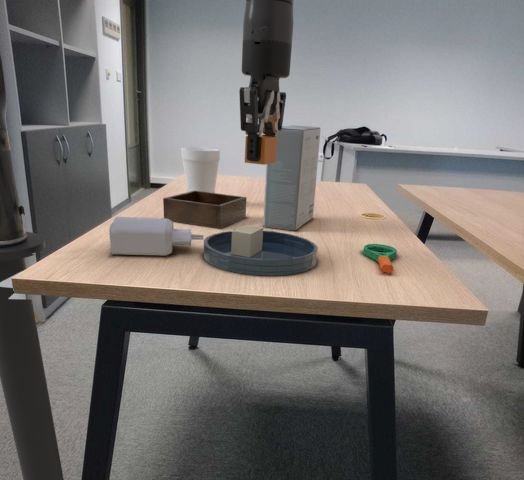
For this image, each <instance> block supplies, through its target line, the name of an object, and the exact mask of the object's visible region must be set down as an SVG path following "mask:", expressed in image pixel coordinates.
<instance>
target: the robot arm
mask: <svg viewBox="0 0 524 480" xmlns="http://www.w3.org/2000/svg"><path fill="white" fill-rule="evenodd" d="M294 1H295V0H245V8H244V14H243V25H242V51H241V73H242V74H243V75H244V76H248V77H250V78H249V84H248V86H247V87H246V86H245V87H241V86H240V87H239V91H238V92H239V93H238V94H239V118H240V130H241V131H242V132H244V133H245V135H246V136H248V138H247V160H248V161H255V162H257V161H260V158H261V141H262V137H259V136H271V137H276V136H275V135H277V134H278V131H281V129H282V126H283V124H284V123H283V122H284V116H285V115H284V114H285V107H286V101H287V93H286V92H283V91H280V82H279V81H280V79H287V78H289V77H290V73H291V63H292V62H291V61H292V50H293V49H292V48H293V36H294ZM4 71H5V70H4V64H3V57H2V52H1V50H0V248H4V247H10V246H15V245H19V244H22V243H24V242H26V241H27V235H26V232H27V231H26V228H25V222H24V217H23V216H26V213H25V207H24V206H23V205H22V204H21V199H20V192H19V187H18V181H17V175H16V170H15V169H16V168H15V164H14V158H13V153H12V148H11V142H10V136H9V130H8V123H7V111H8V94H7V87H6V79H5V72H4Z"/></svg>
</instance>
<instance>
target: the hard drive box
mask: <svg viewBox="0 0 524 480" xmlns="http://www.w3.org/2000/svg"><path fill="white" fill-rule="evenodd" d="M275 136H276V137H278V141H277V155H276V162H275V163H270V164H265V165H266V166H265V180H264V181H265V182H264V183H265V184H264V199H263V200H264V201H263V202H264V203H263V205H264V206H263V222H262V225H263V228H270V229H271V228H272V229H279V230H285V231H286V230H287V231H295V232H296V231H297V230H298V229H300V228H301V227H302V226H303V225H305V224H306V223H308V222H309V221H310V220H311V219H313V217H314V211H315V210H314V208H315V198H316V189H317V188H316V185H317V176H318V175H317V174H318V163H319V150H320V141H321V127H320V126H309V125H296V124H295V125H294V124H292V125H291V124H286V125H285V124H284V125H282V129H281V131H278V134H277V135H275Z"/></svg>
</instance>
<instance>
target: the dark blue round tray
mask: <svg viewBox="0 0 524 480" xmlns="http://www.w3.org/2000/svg"><path fill="white" fill-rule="evenodd" d="M232 231H233V230H227V231H221V232H217V233H213V234H210V235H209V236H207V237H206V238H205V239H203V258H204V260H205V261H206V262H207V263H208V264H210V265H211V266H213V267H215V268H218V269H221V270H223V271H228V272H232V273H235V274H236V273H237V274H243V275H250V276H264V277H269V276H271V277H273V276H275V277H277V276H289V275H290V276H291V275H296V274H300V273H305V272H308V271H309V270H311V269H313V268H314V267H315V265H316V264H317V257H318V256H317V255H318V245H317V244H315V242H313V241H311V240H309V239H307V238H304V237H301V236H299V235H295V234H294V235H293V234H291V233H286V232H279V231H273V230H272V231H271V230H263V241H262V250H261V251H260V252H258V253H256V254H255V255H253V256H251V257H244V256H238V255H232V254H231V245H232Z"/></svg>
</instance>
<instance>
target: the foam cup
mask: <svg viewBox="0 0 524 480" xmlns="http://www.w3.org/2000/svg"><path fill="white" fill-rule="evenodd" d="M180 153H181V156H180V157H181V160H182V166H183V173H184V180H185V188H186V192H190V191H202V192H210V193H216V185H217V177H218V169H219V162H220V160H221V159H220V158H221V150H220V149H218V148H211V147H199V146H198V147H197V146H184V147H181V150H180Z"/></svg>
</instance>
